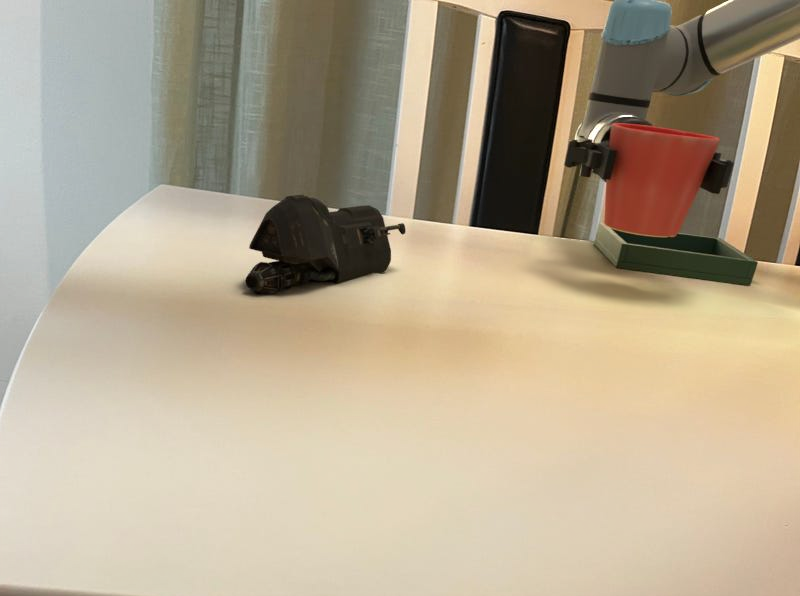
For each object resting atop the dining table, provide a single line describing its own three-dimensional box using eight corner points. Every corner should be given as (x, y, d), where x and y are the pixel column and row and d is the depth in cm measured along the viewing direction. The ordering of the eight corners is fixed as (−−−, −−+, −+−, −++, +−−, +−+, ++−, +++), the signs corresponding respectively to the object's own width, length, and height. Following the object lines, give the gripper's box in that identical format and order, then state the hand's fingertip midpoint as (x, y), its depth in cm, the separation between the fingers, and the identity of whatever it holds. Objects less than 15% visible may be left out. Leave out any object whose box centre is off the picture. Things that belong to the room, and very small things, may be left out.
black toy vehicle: (399, 277, 106) (412, 194, 102) (284, 307, 86) (294, 205, 82) (342, 264, 108) (353, 182, 104) (216, 290, 89) (224, 191, 84)
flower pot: (705, 245, 103) (735, 140, 98) (600, 233, 103) (625, 127, 98) (677, 228, 112) (702, 132, 107) (580, 217, 112) (601, 119, 107)
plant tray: (714, 260, 137) (720, 238, 135) (750, 285, 123) (758, 262, 121) (593, 243, 137) (599, 221, 135) (615, 267, 123) (622, 243, 121)
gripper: (708, 197, 122) (765, 226, 103) (521, 172, 122) (543, 197, 103) (728, 128, 118) (791, 145, 99) (534, 103, 118) (560, 115, 99)
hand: (664, 172), depth 101 cm, fingers closed on flower pot, 10 cm apart
